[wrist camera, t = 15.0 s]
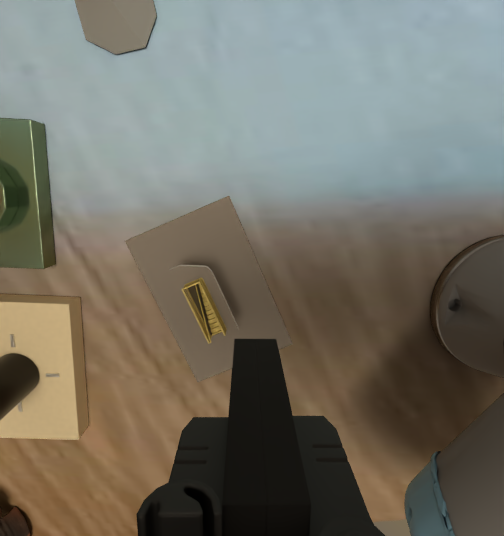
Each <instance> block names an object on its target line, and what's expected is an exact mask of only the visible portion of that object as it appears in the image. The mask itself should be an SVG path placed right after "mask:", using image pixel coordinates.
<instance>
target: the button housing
mask: <svg viewBox="0 0 504 536" xmlns="http://www.w3.org/2000/svg"><path fill="white" fill-rule="evenodd" d="M55 264H56V262H55V250H54V238H53V225H52V213H51V201H50V188H49V176H48V164H47V151H46V139H45V127H44V124H42V123H39V122H36V121H33V120H29V119H11V118H0V267H9V268H33V269H45V268H47V267H50V266H53V265H55Z"/></svg>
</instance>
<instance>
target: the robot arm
mask: <svg viewBox="0 0 504 536" xmlns="http://www.w3.org/2000/svg"><path fill="white" fill-rule="evenodd" d="M431 322H432V326H433V329H434V332H435V334H436V336H437V338H438V340H439V342H440V343H441V344H442V346H443V347H444V348H445V349H446V350H447V351H448V352H449V353H451V354H452V355H453V356H454V357H456V358H457V359H458V360H460V361H461V362H463V363H464V364H466V365H468V366H470V367H472V368H474V369H477V370H479V371H483V372H486V373H489V374H493V375H496V376H499V377H503V378H504V235H502V236H496V237H492V238H488V239H485V240H482V241H480V242H478V243H476V244H474V245H472V246H470V247H469V248H467V249H466V250H464V251H463V252H461V253H460V254H459V255H458V256H457V257H456V258H454V259H453V260H452V261H451V263H450V264H449V265H448V266H447V267H446V269H445V270H444V271H443V273H442V275H441V276H440V278H439V280H438V282H437V284H436V286H435V289H434V292H433V296H432V300H431ZM405 514H406V519H407V522H408V525H409V529H410V534H411V536H504V393H503V394H502V395H501V396H500V397H499V398H498V399H497V400H496V401H495V402H494V403H493V404H492V405H491V406H489V407H488V408H487V409H486V410H485V411H484V412H483V413H482V414H481V415H480V416H479V417H478V418H477V419H476V420H475V421H473V422H472V423H471V424H470V425H469V426H468V427H467V428H466V429H465V430H464V431H463V432H462V433H461V434H460V435H459V436H458V437H456V438H455V439H454V440H453V441H452V442H451V443H450V444H449V445H448V446H447V447H446V448H445V449H444V450H443V451H442V452H441V451H438V452H437V451H436V452H435V453H434V454H433V455H432V456H431V460H430V462H429V463H428V464H427V465H426V466H425V467H424V468H423V470H422V471H421V472H420V473H419V474H418V475H417V476H416V477H415V478H414V479H413V480H412V481H411V483H410V484H409V486H408V488H407V490H406V494H405ZM137 526H138V536H385V535H384V534H383V533H382V532H381V531H380V530H378V528H377V527H375V526H374V524H373V522H372V520H371V518H370V516H369V513H368V511H367V508H366V506H365V503H364V500H363V498H362V495H361V492H360V490H359V487H358V485H357V482H356V479H355V477H354V474H353V472H352V469H351V466H350V464H349V462H348V460H347V456H346V453H345V451H344V448H342V443H341V440H340V438H339V435H338V432H337V430H336V428H335V427H334V426H333V425H332V424H331V423H330V422H329V421H328V420H327V419H326V418H325V417H324V416H292V411H291V406H290V402H289V397H288V392H287V387H286V383H285V378H284V373H283V368H282V364H281V359H280V354H279V349H278V345H277V340H276V339H234V352H233V365H232V378H231V392H230V405H229V417H193V419H192V420H191V421H190V422H189V423H188V425H187V426H186V427H185V428H184V429H183V430H182V434H181V437H180V441H179V445H178V450H177V452H176V456H175V460H174V464H173V468H172V471H171V475H170V479H169V483H167V484H165V485H163V486H161V487H159V488H157V489H156V490H155V491H154V492H152V493H151V494H150V495H149V496H148V497H147V498H146V499H145V500H144V502H143V504H142V505H141V507H140V509H139V511H138V513H137Z"/></svg>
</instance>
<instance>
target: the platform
mask: <svg viewBox="0 0 504 536" xmlns="http://www.w3.org/2000/svg"><path fill="white" fill-rule="evenodd" d="M125 242H126V244H127V246H128V248H129V250H130V252H131V254H132V256H133V258H134V260H135V262H136V264H137V266H138V267H139V269H140V271H141V273H142V275H143V277H144V279H145V281H146V283H147V285H148V287H149V289H150V291H151V293H152V295H153V297H154V299H155V300H156V302H157V304H158V306H159V308H160V310H161V312H162V314H163V316H164V318H165V320H166V322H167V324H168V326H169V328H170V330H171V331H172V333H173V335H174V337H175V339H176V341H177V343H178V345H179V347H180V349H181V351H182V353H183V355H184V357H185V359H186V361H187V363H188V364H189V366H190V368H191V370H192V372H193V374H194V376H195V378H196V380H197V382H200V381H202V380H205V379H207V378H210V377H212V376H215V375H217V374H220V373H222V372H225V371H227V370H230V369H232V365H233V352H234V339H276V340H277V345H278V349H279V350H280V349H282V348H285V347H287V346H290V345H292V344H293V343H292V341H291V338H290V336H289V334H288V331H287V329H286V327H285V324H284V322H283V320H282V317H281V315H280V313H279V310H278V308H277V306H276V304H275V301H274V299H273V297H272V294H271V292H270V290H269V287H268V285H267V283H266V280H265V278H264V276H263V273H262V271H261V269H260V266H259V264H258V262H257V260H256V257H255V255H254V253H253V250H252V248H251V246H250V243H249V241H248V239H247V236H246V234H245V232H244V229H243V227H242V225H241V222H240V220H239V218H238V215H237V213H236V211H235V209H234V206H233V204H232V202H231V199H230V197H229V196H227V197H225V198H222V199H220V200H218V201H216V202H213V203H211V204H209V205H206V206H204V207H202V208H200V209H197V210H195V211H193V212H190V213H188V214H186V215H184V216H181V217H179V218H177V219H175V220H172V221H170V222H168V223H165V224H163V225H161V226H159V227H156V228H154V229H152V230H149V231H147V232H145V233H143V234H140V235H138V236H136V237H133V238H131V239H129V240H127V241H125Z"/></svg>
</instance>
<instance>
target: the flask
mask: <svg viewBox="0 0 504 536" xmlns="http://www.w3.org/2000/svg"><path fill="white" fill-rule="evenodd" d="M75 3H76V7H77V10H78V14H79V17H80V21H81V24H82V28H83V31H84V34H85V38H86V40H88V41H90V42H92V43H94V44H96V45H98V46H100V47H102V48H104V49H106V50H108V51H110V52H112V53H114V54H119V53H123V52H128V51H132V50H136V49H141V48H145V47H146V44H147V42H148V39H149V36H150V33H151V30H152V27H153V25H154V22H155V19H156V16H157V15H156V11H155V7H154V3H153V0H75Z"/></svg>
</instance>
